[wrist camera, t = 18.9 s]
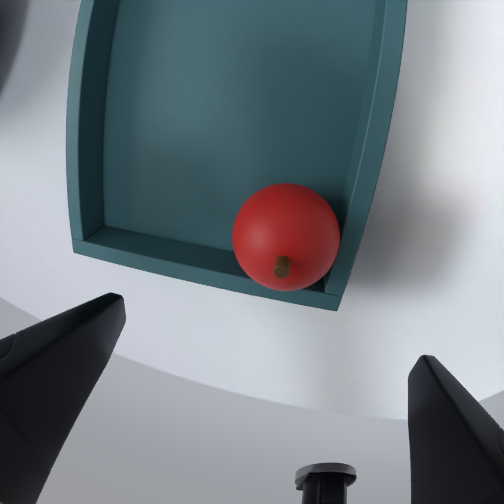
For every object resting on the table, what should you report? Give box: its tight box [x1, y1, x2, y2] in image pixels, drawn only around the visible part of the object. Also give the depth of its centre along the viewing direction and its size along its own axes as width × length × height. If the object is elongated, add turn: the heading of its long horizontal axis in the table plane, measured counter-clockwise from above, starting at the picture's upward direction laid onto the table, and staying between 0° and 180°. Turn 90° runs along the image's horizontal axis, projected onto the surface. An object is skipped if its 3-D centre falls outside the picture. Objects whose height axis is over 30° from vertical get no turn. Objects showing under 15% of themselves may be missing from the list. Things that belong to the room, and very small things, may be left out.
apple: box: [232, 183, 340, 291], centre depth 14 cm, size 5×5×6 cm
